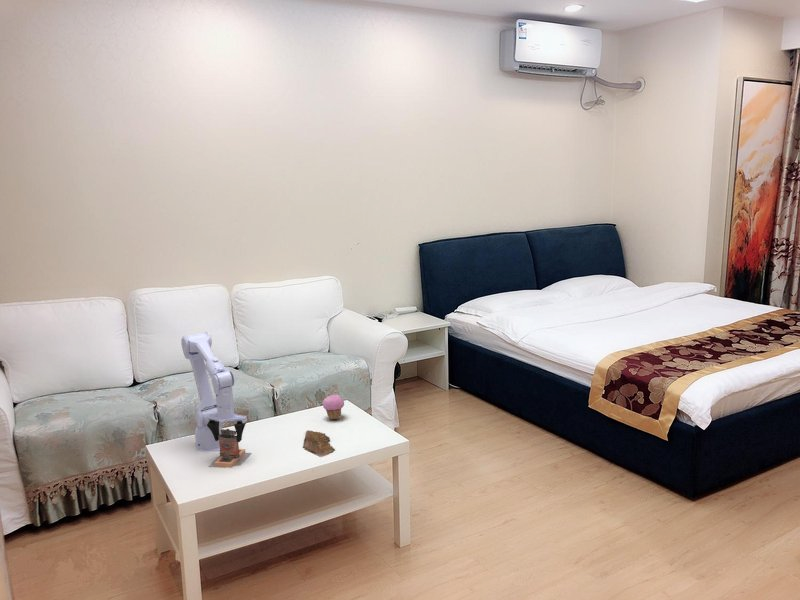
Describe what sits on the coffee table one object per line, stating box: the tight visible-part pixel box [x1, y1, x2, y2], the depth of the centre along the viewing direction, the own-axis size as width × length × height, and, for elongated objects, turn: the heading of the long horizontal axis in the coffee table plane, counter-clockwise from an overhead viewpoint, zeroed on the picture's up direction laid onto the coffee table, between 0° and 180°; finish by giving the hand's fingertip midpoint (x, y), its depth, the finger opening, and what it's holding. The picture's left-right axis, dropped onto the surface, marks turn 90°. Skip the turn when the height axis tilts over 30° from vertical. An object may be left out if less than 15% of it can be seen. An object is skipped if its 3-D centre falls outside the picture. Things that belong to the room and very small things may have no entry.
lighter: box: [218, 428, 240, 459], centre depth 219 cm, size 8×3×10 cm, turn 69°
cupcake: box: [322, 394, 345, 420], centre depth 255 cm, size 9×9×10 cm
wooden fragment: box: [302, 429, 336, 458], centre depth 232 cm, size 26×11×1 cm, turn 18°
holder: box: [208, 448, 252, 469], centre depth 220 cm, size 11×12×2 cm
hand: (228, 440), depth 219 cm, fingers closed on lighter, 7 cm apart
